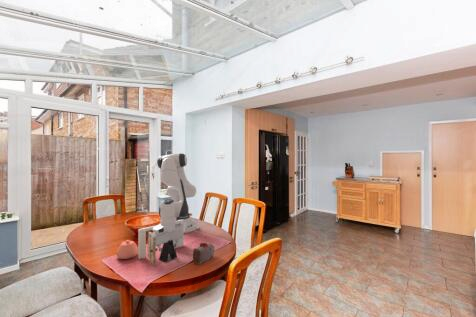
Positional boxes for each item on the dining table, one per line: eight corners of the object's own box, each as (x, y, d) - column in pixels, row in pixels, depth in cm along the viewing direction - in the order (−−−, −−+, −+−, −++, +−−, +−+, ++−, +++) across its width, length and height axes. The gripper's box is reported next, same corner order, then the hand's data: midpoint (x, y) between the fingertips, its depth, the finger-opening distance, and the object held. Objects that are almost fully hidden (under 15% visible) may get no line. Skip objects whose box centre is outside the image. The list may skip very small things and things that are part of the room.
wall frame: (182, 244, 157) (182, 219, 157) (183, 245, 156) (183, 219, 155) (138, 258, 135) (138, 229, 135) (139, 259, 134) (139, 229, 134)
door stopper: (164, 262, 130) (164, 242, 130) (158, 259, 134) (158, 240, 134) (177, 257, 137) (177, 238, 137) (171, 254, 141) (171, 236, 141)
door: (145, 256, 137) (145, 231, 137) (152, 255, 139) (152, 230, 139) (150, 265, 126) (150, 238, 126) (157, 264, 128) (158, 236, 128)
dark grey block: (205, 253, 143) (205, 238, 143) (215, 256, 139) (215, 240, 139) (191, 262, 131) (191, 245, 131) (201, 265, 127) (202, 248, 127)
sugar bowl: (123, 263, 130) (123, 245, 129) (110, 257, 137) (110, 241, 137) (142, 255, 140) (142, 239, 140) (129, 250, 147) (129, 235, 147)
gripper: (180, 221, 145) (180, 242, 145) (149, 228, 130) (149, 252, 131) (185, 223, 140) (185, 245, 140) (154, 231, 126) (154, 255, 126)
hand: (167, 248), depth 135 cm, fingers open, 8 cm apart
